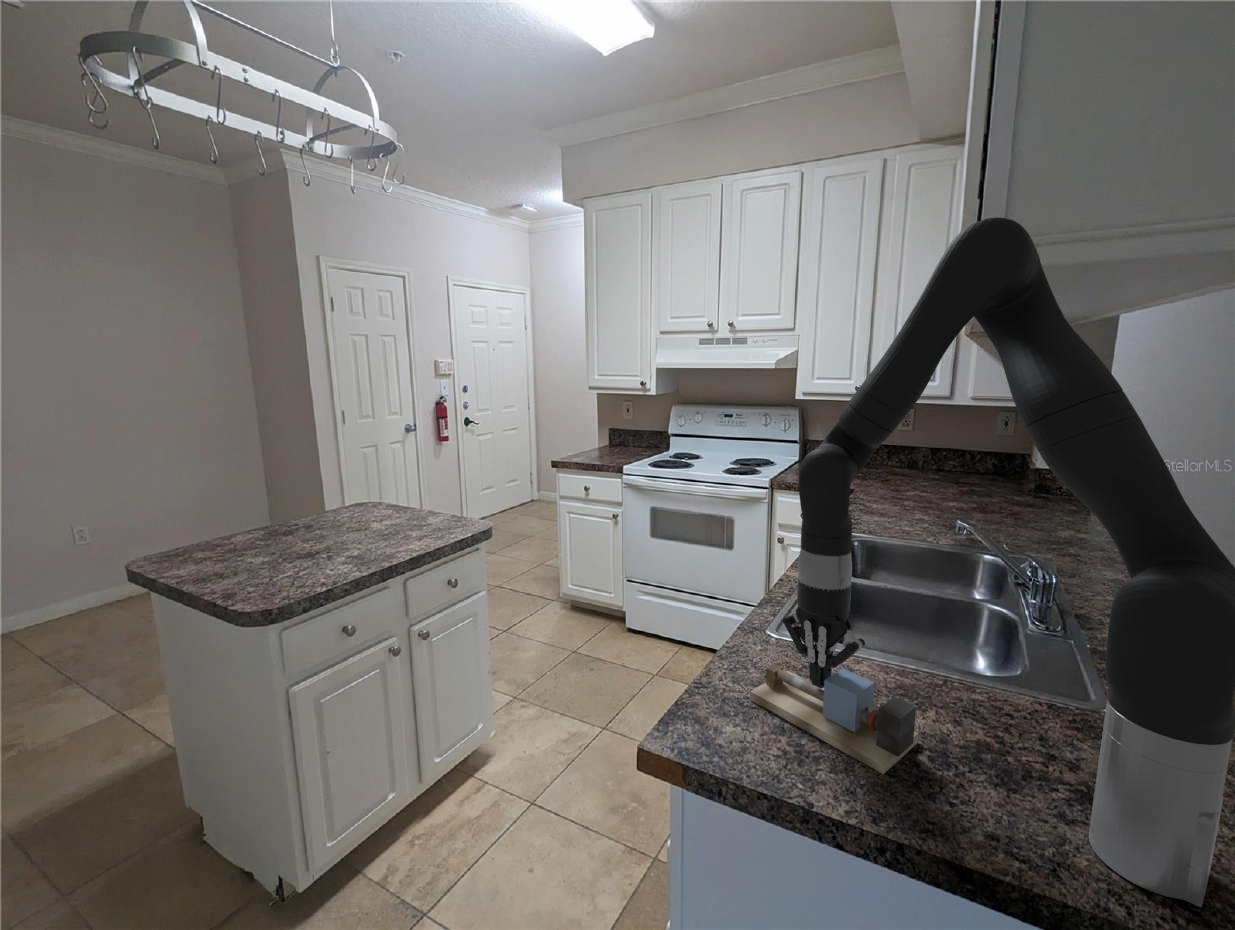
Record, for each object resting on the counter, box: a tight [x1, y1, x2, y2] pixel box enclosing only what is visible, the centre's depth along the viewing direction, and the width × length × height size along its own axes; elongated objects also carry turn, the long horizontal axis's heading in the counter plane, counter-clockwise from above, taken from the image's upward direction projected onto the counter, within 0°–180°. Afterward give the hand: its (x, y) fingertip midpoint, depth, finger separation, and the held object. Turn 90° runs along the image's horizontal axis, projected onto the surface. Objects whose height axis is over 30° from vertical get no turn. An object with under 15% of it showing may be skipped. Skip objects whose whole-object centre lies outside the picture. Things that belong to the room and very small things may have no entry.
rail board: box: [749, 663, 920, 775], centre depth 84 cm, size 22×10×7 cm, turn 38°
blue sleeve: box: [823, 668, 876, 732], centre depth 81 cm, size 5×5×6 cm
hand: (819, 684), depth 85 cm, fingers closed
